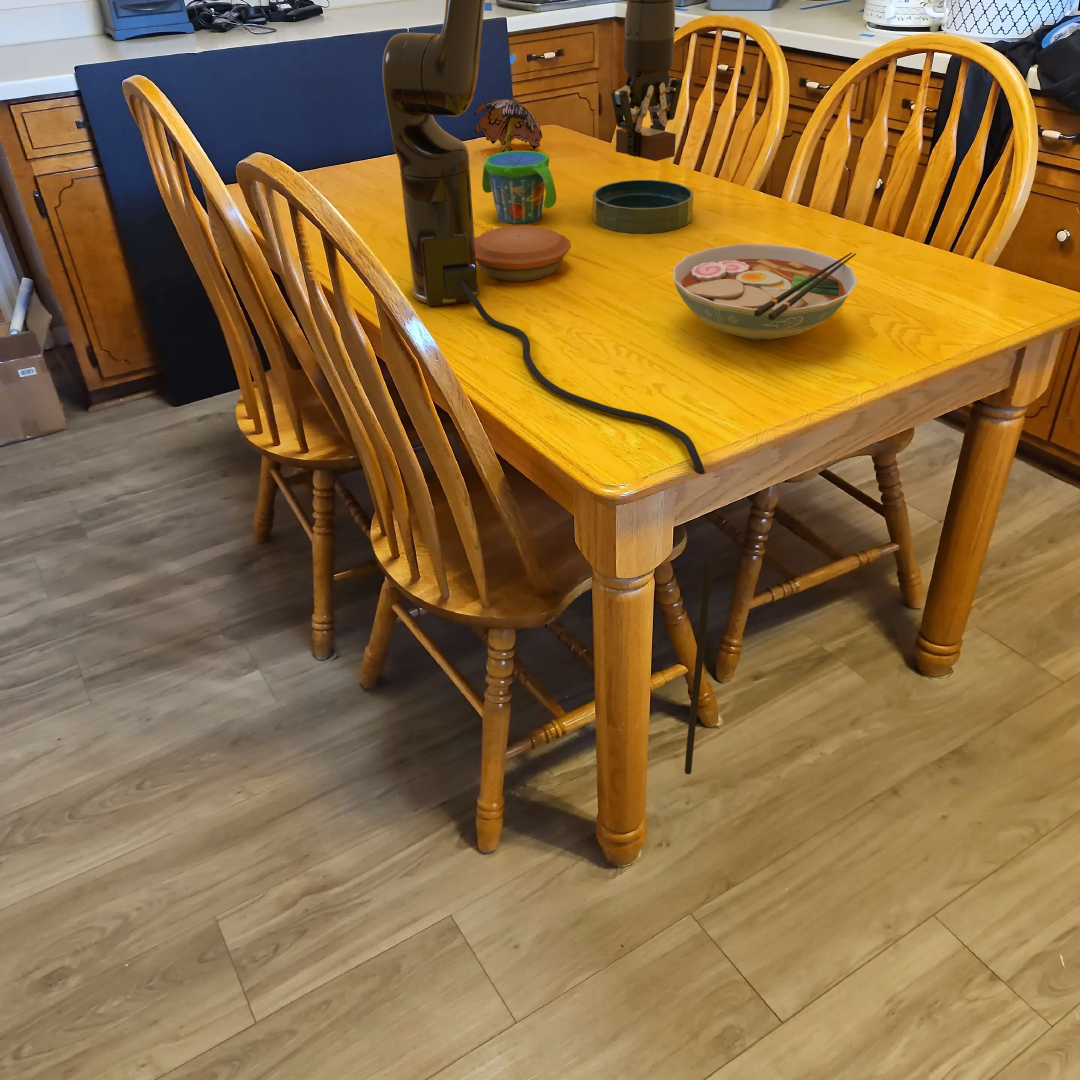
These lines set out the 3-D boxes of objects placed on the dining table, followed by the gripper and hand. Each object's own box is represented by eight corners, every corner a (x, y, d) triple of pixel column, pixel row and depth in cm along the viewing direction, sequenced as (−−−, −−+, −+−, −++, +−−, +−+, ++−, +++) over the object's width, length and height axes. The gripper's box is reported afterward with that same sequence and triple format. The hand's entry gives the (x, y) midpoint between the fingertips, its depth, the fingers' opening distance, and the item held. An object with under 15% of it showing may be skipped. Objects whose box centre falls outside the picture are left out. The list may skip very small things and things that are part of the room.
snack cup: (467, 216, 165) (463, 155, 159) (515, 203, 170) (512, 143, 164) (523, 238, 155) (521, 173, 149) (572, 223, 160) (572, 160, 154)
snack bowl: (705, 231, 155) (707, 204, 152) (606, 240, 152) (606, 213, 150) (674, 201, 168) (675, 176, 165) (583, 210, 166) (583, 184, 163)
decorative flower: (560, 99, 194) (501, 86, 185) (559, 159, 196) (500, 149, 187) (517, 110, 205) (459, 98, 196) (516, 167, 207) (459, 158, 198)
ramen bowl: (729, 281, 137) (734, 224, 132) (881, 318, 125) (893, 257, 120) (629, 340, 121) (630, 278, 117) (792, 389, 109) (801, 322, 105)
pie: (552, 246, 151) (551, 214, 148) (585, 279, 139) (585, 245, 136) (458, 258, 148) (455, 226, 145) (484, 293, 136) (481, 259, 133)
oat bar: (674, 156, 152) (676, 133, 150) (655, 161, 150) (656, 138, 148) (634, 146, 158) (635, 124, 156) (615, 151, 155) (616, 129, 153)
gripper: (633, 42, 138) (630, 165, 147) (699, 31, 145) (692, 148, 155) (598, 37, 142) (597, 157, 152) (663, 26, 150) (658, 141, 160)
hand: (645, 152), depth 153 cm, fingers closed on oat bar, 4 cm apart
